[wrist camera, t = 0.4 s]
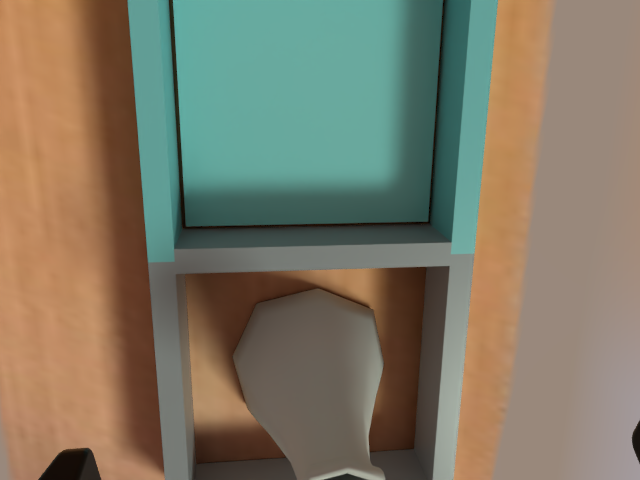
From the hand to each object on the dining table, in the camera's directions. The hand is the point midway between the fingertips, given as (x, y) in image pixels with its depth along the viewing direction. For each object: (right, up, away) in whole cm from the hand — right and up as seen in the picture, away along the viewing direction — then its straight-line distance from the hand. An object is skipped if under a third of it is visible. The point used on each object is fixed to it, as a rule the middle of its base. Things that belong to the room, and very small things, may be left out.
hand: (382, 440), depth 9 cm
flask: (-2, -2, +18) cm, 19 cm away
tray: (-1, +3, +16) cm, 17 cm away
